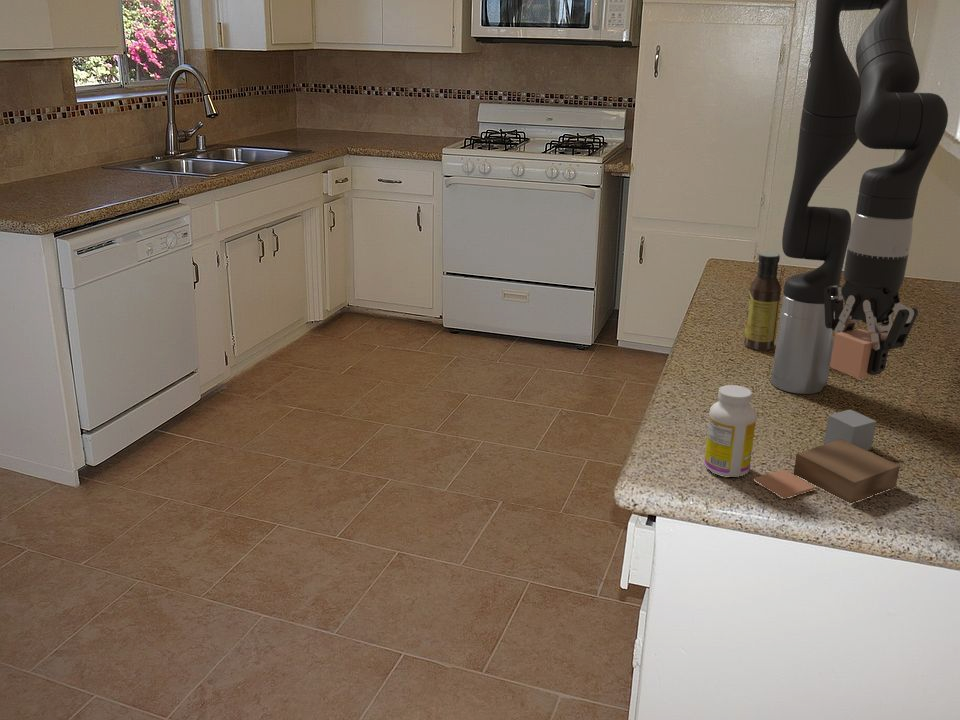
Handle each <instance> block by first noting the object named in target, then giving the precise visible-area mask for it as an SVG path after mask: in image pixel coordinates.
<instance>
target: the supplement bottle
mask: <svg viewBox="0 0 960 720" xmlns="http://www.w3.org/2000/svg"><path fill="white" fill-rule="evenodd" d="M752 395H753V392H752V390H750V389H749V388H747V387H745V386H742V385H741V386H740V385H736V384H735V385H733V384H727V385H726V384H725V385H722V386H721V387H719V389H718V394H717V399H718V401H717V402H715V403H713V404H712V405H711V407H710V409H709V414H708V425H707V433H706V443H705V452H704V462H703V463H704V467H705V466H706V467H707V468H708V469H709V470H710V471H712V472H714V473H717V474H720V475H724V476H729V477H738V476H742V477H744V476H746V475H747V474H748V473H749V472H750V468H751V461H752V453H753V444H754V437H755V429H756V421H757V412H756V410H755V408H753V407H752V406H751V405H750V404H751V402H752V398H753V397H752ZM706 467H705V468H706ZM710 471H709V472H710ZM745 474H746V475H745ZM743 475H744V476H743ZM738 478H739V477H738Z"/></svg>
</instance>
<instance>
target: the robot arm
mask: <svg viewBox="0 0 960 720" xmlns="http://www.w3.org/2000/svg"><path fill="white" fill-rule="evenodd" d="M815 1H816V3H815V15H814V16H815V17H814V28H813V38H812V39H813V40H812V49H811V56H810V57H811V58H810V64H809V70H808V76H807V82H806V87H805V93H804V99H803V104H802V111H801V118H800V124H799V131H798V132H799V134H798V140H797V141H798V143H797V151H796V153H797V154H796V159H795V160H796V161H795V168H794V174H793V175H794V176H793V180H792V181H793V182H792V185H791V189H790V195H789V200H788V206H787V210H786V214H785V218H784V223H783V230H782V239H781V240H782V241H781V244H782V245H781V246H782V251H783V254H784V255H785V256H786V257H787V258H792V259H798V260H799V259H800V260H808V261H809V260H811V261H820V262H821V261H822V262H823V263H822V264H820V266H818V267H817V268H814V269H812V270H809V271H807V272H803V273H797V274H794V275H792V276H790V277H788V278H786V279H785V282H784V286H783V292H782V293H783V294H782V301H781V307H780V313H779V315H780V316H779V320H778V327H777V334H776V344H775V351H774V355H773V356H774V357H773V362H772V363H773V364H772V370H771V379H770V383H771V385H772V386H774V387H775V388H776V389H779V390H781V391H785V392H789V393H792V394H801V395H812V394H817V393H819V392H822V391H823V388H824V387H827V385H828V380H829V374H830V368H831V367H830V362H831V356H832V350H833V344H834V337H833V333H834V334H835V333H841V332H846V331H852V330H856V327H857V325H858V324H859V323H860V322H863V323H865V324H866V328H867V330H866V331H868V332H869V333H870V334H871V340H872V347H873V349H871V352H870V358H869V363H868V369H867V373H868V374H870V375H873V376H876V375H877V374H878V375H881V374H880V373H881V372H882V371H884V372H885V369H886V364H887V361H888V356H889V355H888V354H889V351H890V350H895V349H899V348H900V349H901V348H902V347H904V346H905V343H906V342H907V339H908V337H909V334H910V332H911V330H912V327H913V326H914V323H915V321H916V319H917V317H918V314H919V310H918V309H917V308H916V307H908V306H906V305H904V304H902V303H901V298H900V294H899V293H900V289H901V287H902V285H903V284H904V280H905V275H906V269H907V263H908V258H909V255H910V249H911V242H912V237H913V223H914V222H913V221H914V216H915V210H916V205H917V200H918V193H919V190H920V186H921V183H922V181H923V178H924V175H925V173H926V171H927V169H928V166H929V164H930V162H931V160H932V158H933V156H934V154H935V152H936V150H937V148H938V147H939V144H940V142H941V141H942V138H943V136H944V135H945V132H946V129H947V125H948V121H949V120H948V119H949V112H948V107H947V103H946V102H945V101H944V99H943V98H942V97H941V96H940V95H939V94H936V93H932V92H931V93H930V92H916V90H917V89H918V87H919V82H920V71H919V65H918V63H917V59H916V55H915V53H914V49H913V46H912V42H911V37H910V31H909V16H908V14H909V13H908V10H909V9H908V0H815ZM877 9H878V10H879V12H878V13H877V15H876V16H875V17H874V18H873V20H872V21H871V22H870V24H869V25H868V26H867V28H866V29H864V32H863V33H862V34H861V36H860V39H859V40H858V43H857V46H856V49H855V64H856V68H855V67H854V66H853V64H852V62H851V60H850V58H849V55H848V54H847V52H846V49H845V46H844V43H843V40H842V37H841V32H840V15H841V12H842V11H843V12H847V11H848V12H849V11H853V12H854V11H869V10H870V11H872V10H877ZM855 69H856V70H857V71H856V70H855ZM857 141H859V142H860V143H861V144H862V145H863V146H865V147H866V148H869V149H873V150H896V151H897V150H899V151H901V150H904V152H903V153H902V154H901V156H900V157H899V159H898V160H897V161H896V162H894V163H892V164H888V165H885V166H879V167H874V168H869V169H867V170H866V171H865V172H863V174H862V176H861V179H860V184H859V190H858V195H857V201H856V203H857V204H856V207H855V213H854V218H853V221H852V217H851V213H850V211H848V210H847V209H845V208H840V207H828V206H827V207H825V206H809V203H810V201H811V199H812V197H813V195H814V194H815V192H816V191H817V188H818V187H819V185H820V184H821V183H822V182H823V181H824V179H825V177H827V175H828V174H829V173H830V172H831V171H832V170H833V169H834V168H835V167H836V166H837V165H838V164H839V163H840V162H841V161H842V160H843V159H844V158H845V156H847V154H849V153H850V151H851V149H852V148H853V147H854V146H855V144H856V143H857ZM843 268H844V269H843ZM842 273H843V275H842ZM842 276H843V277H842ZM842 278H843V280H844V283H843V284H842V285H841V279H842ZM844 303H845V305H844ZM893 313H894V314H893ZM892 314H893V316H892ZM880 323H881V324H880ZM878 324H880V325H878ZM881 338H882V340H881ZM878 375H877V376H878Z"/></svg>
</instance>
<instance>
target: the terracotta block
mask: <svg viewBox="0 0 960 720" xmlns="http://www.w3.org/2000/svg"><path fill="white" fill-rule="evenodd" d="M833 338H834V344H833V350H832V356H831V362H830V368H832V369H834V370H836V371H838V372H841V373H843V374H845V375H848V376H850V377H852V378H856V379H863V378H864V379H865V378H868V377H869V378H870V377H872V376H873V377H874V375H870V374H868V373H867V369H868V363H869V358H870V352H871V349H873V347H872V340H871V334H870V333H869V332H868V330H866V329H862V328H858V329H854V330H852V331H846V332H841V333H834V337H833ZM881 340H882V338H881ZM883 374H885V370H884V371H882V372H881V373H880V374H877V376H878V375H883Z"/></svg>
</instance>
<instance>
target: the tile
mask: <svg viewBox="0 0 960 720" xmlns="http://www.w3.org/2000/svg"><path fill="white" fill-rule="evenodd" d="M793 474H794V473H791V472H789V471H788V470H786V469H779V470H776V471H773V472H770V473H769V472H768V473H765V474H763V475H759V476H755V477H753V480H754V479H755V480H756V481H757V482H759V483H761V484H762V485H763V486H765V487H766V488H768V489H770V490H772V491H773V492H775V493H777V494H778V495H780V496H781V497H783V498H787V497H790V496H794V495H798V494H801V493H804V492H807V491H810V490H813V489H816V487H814V486H813V485H811V484H809V483H807V482H805V481H804V480H802V479H800V478H798V477H797V476H795V475H793Z"/></svg>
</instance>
